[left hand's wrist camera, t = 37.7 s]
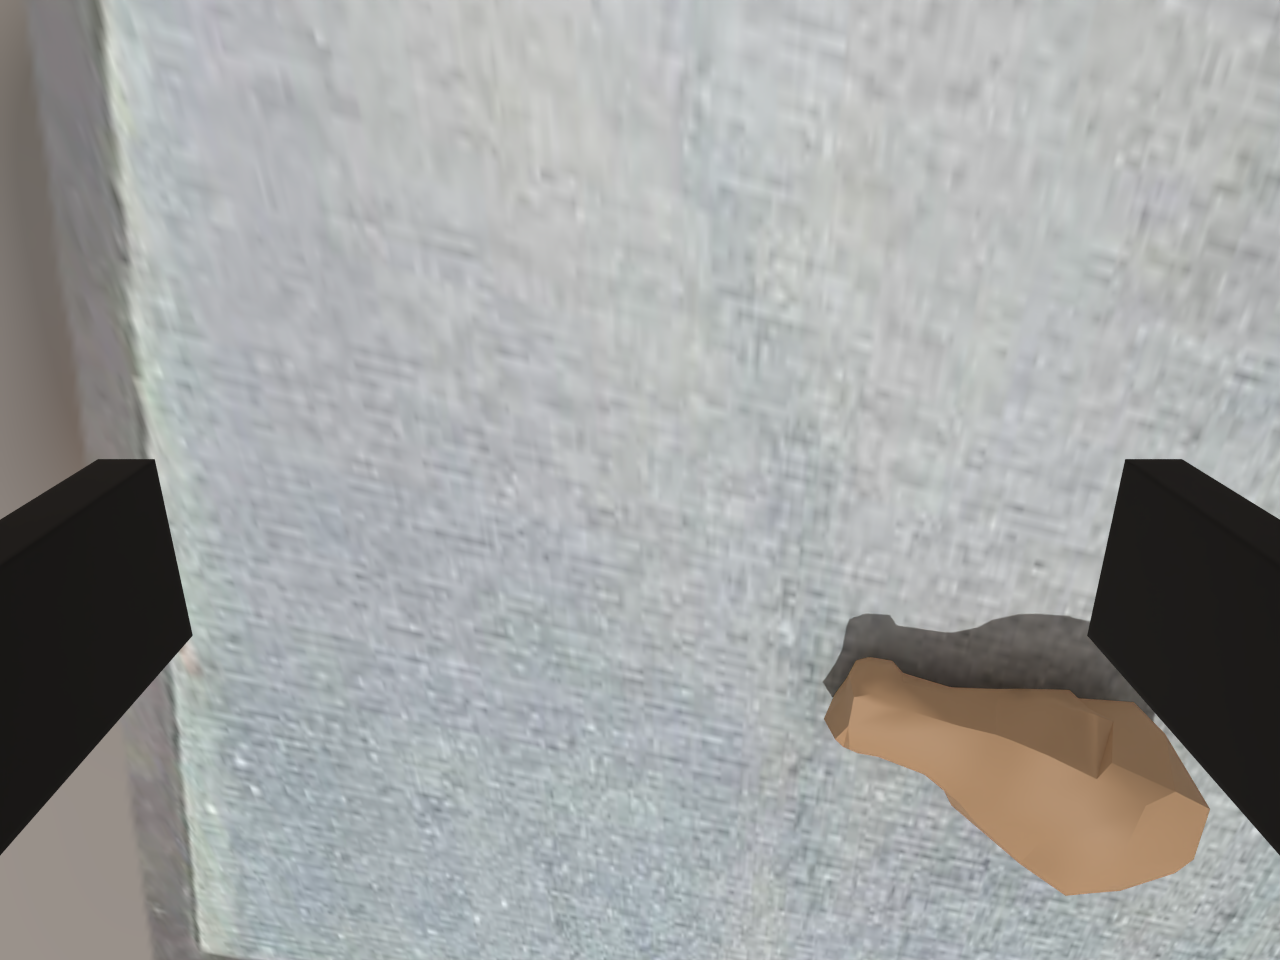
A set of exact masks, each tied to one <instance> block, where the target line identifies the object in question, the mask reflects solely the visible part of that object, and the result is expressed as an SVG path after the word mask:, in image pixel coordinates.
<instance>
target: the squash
mask: <svg viewBox="0 0 1280 960" xmlns="http://www.w3.org/2000/svg"><path fill="white" fill-rule="evenodd" d="M824 720H825V722H826V723H827V725H828V727H829V729H830V731H831V733H832V734H833V736H834V738H835V739H836V740H837V741H838V742H839V743H840V744H841V745H842V746H843V747H845V748H847V749H850V750H852V751H854V752H856V753H860V754H866V755H872V756H878V757H880V758H883V759H885V760H888V761H891V762H893V763H896V764H899V765H901V766H904V767H906V768H909V769H912V770H914V771H917V772H920V773H922V774H924V775H926V776H927V777H928V778H929V779H931V780H932V781H933V782H934V783H936V784H937V785H938V786H939V787H940V788H942V789H943V790H944V791H945V793H946V795H947V797H948V799H949V801H950V803H951V805H952V806H953V807H954V808H955V809H956V810H958V811H959V812H960V813H961V814H962V815H963V816H965V817H966V818H967V819H968V820H969V821H970V822H972V823H973V824H974V825H975V826H976V827H977V828H979V829H980V830H981V831H982V832H983V833H984V834H986V835H987V836H988V837H989V838H990V839H991V840H993V841H994V842H995V843H996V844H997V845H998V846H1000V847H1001V848H1002V849H1003V850H1004V851H1005V852H1007V853H1008V854H1009V855H1010V856H1011V857H1013V858H1014V859H1015V860H1016V861H1017V862H1018V863H1020V864H1021V865H1022V866H1024V867H1025V868H1027V869H1028V870H1030V871H1031V872H1032V873H1034V874H1035V875H1037V876H1038V877H1040V878H1041V879H1042V880H1044V881H1045V882H1047V883H1048V884H1050V885H1051V886H1053V887H1054V888H1055V889H1057V890H1058V891H1060V892H1061V893H1063V894H1064V895H1065V896H1067V895H1077V894H1087V893H1098V892H1111V891H1121V890H1124V889H1127V888H1130V887H1133V886H1136V885H1139V884H1142V883H1145V882H1149V881H1152V880H1155V879H1158V878H1161V877H1164V876H1167V875H1170V874H1173V873H1176V872H1177V871H1178V870H1180V869H1181V868H1182V867H1184V866H1185V865H1186V864H1188V863H1189V862H1191V861H1192V860H1193V859H1194V857H1195V853H1196V850H1197V847H1198V844H1199V841H1200V838H1201V835H1202V832H1203V829H1204V826H1205V823H1206V820H1207V817H1208V814H1209V811H1210V808H1209V807H1208V805H1207V803H1206V802H1205V800H1204V798H1203V797H1202V795H1201V793H1200V792H1199V790H1198V788H1197V787H1196V785H1195V783H1194V782H1193V780H1192V778H1191V777H1190V775H1189V773H1188V772H1187V770H1186V768H1185V767H1184V765H1183V763H1182V762H1181V760H1180V758H1179V756H1178V755H1177V753H1176V751H1175V750H1174V748H1173V746H1172V745H1171V743H1170V741H1169V740H1168V738H1167V736H1166V735H1165V733H1164V732H1163V731H1162V730H1161V729H1160V728H1159V727H1158V726H1157V725H1156V724H1155V723H1154V722H1153V721H1152V720H1151V719H1150V718H1149V717H1148V716H1147V715H1146V714H1145V713H1144V712H1143V711H1142V710H1141V709H1140V708H1139V707H1138V706H1137V705H1136V704H1135V703H1134V702H1125V701H1111V700H1096V699H1082V698H1077V697H1076V696H1075V695H1074V694H1073V693H1072V692H1071V691H1070V690H1056V689H983V688H955V687H948V686H945V685H942V684H938V683H935V682H932V681H928V680H925V679H922V678H918V677H915V676H912V675H908V674H905V673H903V672H902V671H901V670H900V669H899V668H898V667H897V666H896V664H895V663H894V662H893V661H891V660H885V659H878V658H872V657H867V658H863V659H859V660H856V661H855V663H854V665H853V667H852V669H851V671H850V673H849V674H848V676H847V678H846V679H845V681H844V682H843V684H842V685H841V686H840V688H839V689H838V690H837V692H836V693H835V695H834V697H833V699H832V702H831V704H830V706H829V708H828V711H827V713H826V715H825V718H824Z"/></svg>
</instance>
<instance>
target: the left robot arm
mask: <svg viewBox="0 0 1280 960" xmlns="http://www.w3.org/2000/svg"><path fill="white" fill-rule="evenodd" d="M192 636H193V635H192V630H191V626H190V621H189V616H188V612H187V607H186V602H185V598H184V593H183V589H182V584H181V579H180V575H179V570H178V565H177V561H176V556H175V551H174V547H173V542H172V537H171V533H170V528H169V524H168V519H167V514H166V510H165V505H164V500H163V496H162V491H161V486H160V482H159V477H158V472H157V468H156V463H155V459H98V460H96V461H94V462H93V463H91V464H90V465H88V466H86V467H85V468H83V469H82V470H80V471H78V472H77V473H75V474H73V475H72V476H70V477H69V478H67V479H65V480H64V481H62V482H61V483H59V484H57V485H56V486H54V487H52V488H51V489H49V490H48V491H46V492H44V493H43V494H41V495H39V496H38V497H36V498H35V499H33V500H31V501H30V502H28V503H27V504H25V505H23V506H22V507H20V508H19V509H17V510H15V511H14V512H12V513H10V514H9V515H7V516H6V517H4V518H2V519H1V520H0V855H1V854H2V853H3V851H4V850H5V849H6V848H7V847H8V846H9V845H10V844H11V842H12V841H13V840H14V839H15V838H16V837H17V835H18V834H19V833H20V832H21V831H22V830H23V829H24V827H25V826H26V825H27V824H28V823H29V822H30V821H31V820H32V818H33V817H34V816H35V815H36V814H37V813H38V812H39V810H40V809H41V808H42V807H43V806H44V805H45V804H46V802H47V801H48V800H49V799H50V798H51V797H52V796H53V794H54V793H55V792H56V791H57V790H58V789H59V787H60V786H61V785H62V784H63V783H64V782H65V781H66V780H67V778H68V777H69V776H70V775H71V774H72V773H73V772H74V770H75V769H76V768H77V767H78V766H79V765H80V763H81V762H82V761H83V760H84V759H85V758H86V757H87V756H88V754H89V753H90V752H91V751H92V750H93V749H94V748H95V746H96V745H97V744H98V743H99V742H100V741H101V740H102V738H103V737H104V736H105V735H106V734H107V733H108V732H109V730H110V729H111V728H112V727H113V726H114V725H115V724H116V722H117V721H118V720H119V719H120V718H121V717H122V716H123V714H124V713H125V712H126V711H127V710H128V709H129V708H130V706H131V705H132V704H133V703H134V702H135V701H136V700H137V698H138V697H139V696H140V695H141V694H142V693H143V692H144V690H145V689H146V688H147V687H148V686H149V685H150V684H151V682H152V681H153V680H154V679H155V678H156V677H157V676H158V674H159V673H160V672H161V671H162V670H163V669H164V668H165V666H166V665H167V664H168V663H169V662H170V661H171V660H172V658H173V657H174V656H175V655H176V654H177V653H178V652H179V650H180V649H181V648H182V647H183V646H184V645H185V644H186V642H187V641H188V640H189V639H190V638H191V637H192ZM1087 636H1088V637H1089V638H1090V639H1091V640H1092V641H1093V642H1094V644H1095V645H1096V646H1097V647H1098V648H1099V649H1100V650H1101V652H1102V653H1103V654H1104V655H1105V656H1106V657H1107V658H1108V660H1109V661H1110V662H1111V663H1112V664H1113V665H1114V666H1115V668H1116V669H1117V670H1118V671H1119V672H1120V673H1121V674H1122V676H1123V677H1124V678H1125V679H1126V680H1127V681H1128V682H1129V684H1130V685H1131V686H1132V687H1133V688H1134V689H1135V690H1136V692H1137V693H1138V694H1139V695H1140V696H1141V697H1142V698H1143V700H1144V701H1145V702H1146V703H1147V704H1148V705H1149V706H1150V708H1151V709H1152V710H1153V711H1154V712H1155V713H1156V714H1157V716H1158V717H1159V718H1160V719H1161V720H1162V721H1163V722H1164V724H1165V725H1166V726H1167V727H1168V728H1169V729H1170V730H1171V732H1172V733H1173V734H1174V735H1175V736H1176V737H1177V738H1178V740H1179V741H1180V742H1181V743H1182V744H1183V745H1184V746H1185V748H1186V749H1187V750H1188V751H1189V752H1190V753H1191V754H1192V756H1193V757H1194V758H1195V759H1196V760H1197V761H1198V762H1199V764H1200V765H1201V766H1202V767H1203V768H1204V769H1205V770H1206V772H1207V773H1208V774H1209V775H1210V776H1211V777H1212V778H1213V780H1214V781H1215V782H1216V783H1217V784H1218V785H1219V786H1220V788H1221V789H1222V790H1223V791H1224V792H1225V793H1226V794H1227V796H1228V797H1229V798H1230V799H1231V800H1232V801H1233V802H1234V804H1235V805H1236V806H1237V807H1238V808H1239V809H1240V810H1241V812H1242V813H1243V814H1244V815H1245V816H1246V817H1247V818H1248V820H1249V821H1250V822H1251V823H1252V824H1253V825H1254V826H1255V828H1256V829H1257V830H1258V831H1259V832H1260V833H1261V834H1262V836H1263V837H1264V838H1265V839H1266V840H1267V841H1268V842H1269V844H1270V845H1271V846H1272V847H1273V848H1274V849H1275V850H1276V852H1277V853H1278V854H1279V855H1280V520H1279V519H1278V518H1276V517H1275V516H1273V515H1271V514H1270V513H1268V512H1266V511H1265V510H1263V509H1262V508H1260V507H1258V506H1257V505H1255V504H1253V503H1252V502H1250V501H1249V500H1247V499H1245V498H1244V497H1242V496H1241V495H1239V494H1237V493H1236V492H1234V491H1232V490H1231V489H1229V488H1228V487H1226V486H1224V485H1223V484H1221V483H1219V482H1218V481H1216V480H1215V479H1213V478H1211V477H1210V476H1208V475H1207V474H1205V473H1203V472H1202V471H1200V470H1198V469H1197V468H1195V467H1194V466H1192V465H1190V464H1189V463H1187V462H1186V461H1184V460H1182V459H1125V463H1124V468H1123V472H1122V477H1121V482H1120V486H1119V491H1118V496H1117V500H1116V505H1115V510H1114V514H1113V519H1112V523H1111V528H1110V533H1109V537H1108V542H1107V547H1106V551H1105V556H1104V561H1103V565H1102V570H1101V575H1100V579H1099V584H1098V589H1097V593H1096V598H1095V602H1094V607H1093V612H1092V616H1091V621H1090V626H1089V630H1088V635H1087Z"/></svg>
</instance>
